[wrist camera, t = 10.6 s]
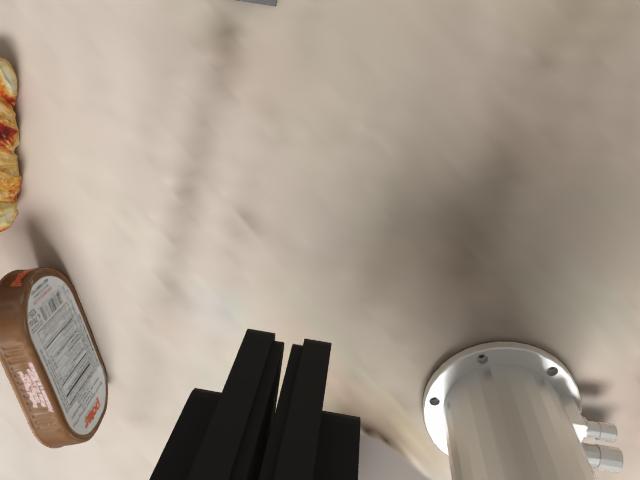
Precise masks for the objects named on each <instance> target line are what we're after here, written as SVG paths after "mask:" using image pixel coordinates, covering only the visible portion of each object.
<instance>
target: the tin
mask: <svg viewBox="0 0 640 480" xmlns="http://www.w3.org/2000/svg"><path fill="white" fill-rule="evenodd" d="M0 362H1V364H2V366H3V368H4V370H5V373H6V375H7V377H8V379H9V381H10V384H11V386H12V388H13V390H14V392H15V394H16V397H17V399H18V401H19V403H20V406H21V408H22V410H23V412H24V415H25V417H26V419H27V421H28V424H29V426H30V428H31V430H32V432H33V434H34V436H35V437H36V438H37V439H38V441H40V442H41V443H42V444H43V445H45V446H47V447H49V448H60V447H62V446H66V445H73V444H79V443H83V442H86V441H88V440H90V439H91V438H92V437H93V435H94V434H95V433H96V431H97V429H98V427H99V425H100V423H101V421H102V419H103V417H104V414H105V412H106V408H107V400H108V385H107V377H106V372H105V368H104V365H103V362H102V360H101V357H100V354H99V352H98V349H97V346H96V344H95V341H94V338H93V336H92V333H91V330H90V328H89V325H88V323H87V320H86V317H85V315H84V312H83V310H82V307H81V304H80V302H79V299H78V297H77V294H76V292H75V290H74V288H73V286H72V284H71V283H70V281H69V280H68V279H67V278H66V277H65V276H64V275H63V274H62V273H61V272H59V271H58V270H55V269H52V268H35V269H29V270H15V271H12V272H10V273H8V274H6V275H5V276H4V277H3V278H2V279H1V280H0Z"/></svg>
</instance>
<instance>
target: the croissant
mask: <svg viewBox="0 0 640 480" xmlns="http://www.w3.org/2000/svg"><path fill="white" fill-rule="evenodd" d="M17 98H18V91H17V78H16V74H15V72H14V70H13V68H12V66H11V64H10V63H9V62H8V60H6V59H5V58H3V57H0V232H1V231H4V230H6V229H7V228H9V227H10V226H11V225H12V223H13V221H14V219H15V217H16V216H17V214H18V210H17V196H18V195H19V194H20V191H21V181H22V179H21V176H20V175H19V169H18V161H17V158H18V156H17V155H16V154H15V153H14V151H15V148H16V147H17V146H18V145H19V129H18V127H17V123H16V120H15V116H16V113H15V112H14V110H13V108H14V106H15V105H16V104H15V101H16V100H17Z"/></svg>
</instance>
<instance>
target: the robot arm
mask: <svg viewBox="0 0 640 480" xmlns="http://www.w3.org/2000/svg"><path fill="white" fill-rule="evenodd" d="M283 351H284V342H279V341H275V333H270V332H264V331H258V330H253V329H247V331H246V334H245V336H244V339H243V341H242V344H241V346H240V349H239V351H238V354H237V356H236V359H235V361H234V364H233V366H232V369H231V371H230V374H229V376H228V379H227V381H226V384H225V386H224V389H223V391H222V393H220V392H214V391H209V390H203V389H198V388H195V389H194V390H193V391H192V392H191V394H190V396H189V398H188V400H187V402H186V404H185V406H184V408H183V410H182V413H181V415H180V417H179V419H178V421H177V423H176V425H175V427H174V429H173V431H172V433H171V436H170V438H169V440H168V442H167V444H166V446H165V448H164V450H163V452H162V454H161V456H160V459H159V461H158V463H157V465H156V467H155V469H154V471H153V473H152V475H151V477H150V479H149V480H358V463H359V441H360V417H356V416H350V415H344V414H339V413H333V412H327V411H322V408H323V401H324V394H325V387H326V379H327V372H328V365H329V358H330V351H331V343H328V342H322V341H316V340H310V339H304V343H303V346H302V345H296V344H293V345H292V348H291V352H290V356H289V360H288V364H287V368H286V372H285V376H284V380H283V384H282V388H281V392H280V396H279V400H278V404H277V408H276V402H277V395H278V388H279V380H280V373H281V366H282V358H283ZM422 408H423V417H424V422H425V426H426V429H427V432H428V434H429V435H430V437H431V439H432V441H433V442H434V443H435V444H436V446H437V447H438V448H439V449H440V450H441V451H442V452H443V453H445V454H446V455H447V456H448V457H449V463H450V469H451V476H452V480H597V478H596V476H595V474H594V471H593V469H592V467H593V468H594V469H597V470H603V471H608V472H614V473H619V472H620V471H621V470H622V467H623V455H622V451H621V450H620V449H619V448H616V447H610V446H604V445H599V444H594V445H592V444H587V443H583V442H582V440H584V439H585V437H591V438H595V439H597V440H603V441H608V442H615V440H616V438H617V428H616V426H615V425H614V424H610V423H604V422H598V421H597V422H594V421H588V420H587V419H586V418H585V417H584V416H582V415H581V412H582V407H581V397H580V393H579V390H578V387H577V385H576V383H575V381H574V379H573V377H572V375H571V374H570V372H569V371H568V370H567V368H566V367H565V366H564V365H563V364H562V363H561V362H560V361H559V360H558V359H557V358H555V357H554V356H553V355H551V354H549V353H547V352H546V351H544V350H542V349H540V348H537V347H534V346H531V345H528V344H523V343H517V342H491V343H484V344H479V345H476V346H473V347H470V348H467V349H465V350H463V351H461V352H459V353H457V354H455V355H453V356H452V357H451V358H449V359H448V360H447V361H445V362H444V363H443V364H442V365H441V366H440V367H439V368H438V369H437V370H436V371H435V372H434V374H433V375H432V377H431V379H430V380H429V382H428V384H427V386H426V389H425V392H424V395H423V407H422ZM275 410H276V412H275Z"/></svg>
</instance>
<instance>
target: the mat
mask: <svg viewBox="0 0 640 480" xmlns="http://www.w3.org/2000/svg"><path fill="white" fill-rule="evenodd" d="M238 1H245V2H251V3H258V4H264V5H271V6H276V3H277V0H238Z"/></svg>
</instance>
